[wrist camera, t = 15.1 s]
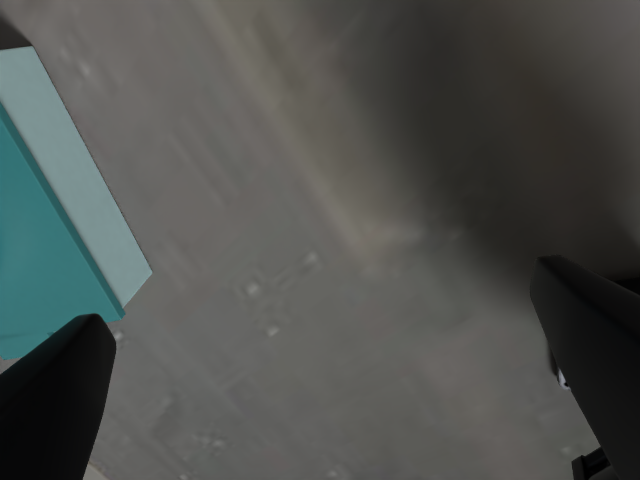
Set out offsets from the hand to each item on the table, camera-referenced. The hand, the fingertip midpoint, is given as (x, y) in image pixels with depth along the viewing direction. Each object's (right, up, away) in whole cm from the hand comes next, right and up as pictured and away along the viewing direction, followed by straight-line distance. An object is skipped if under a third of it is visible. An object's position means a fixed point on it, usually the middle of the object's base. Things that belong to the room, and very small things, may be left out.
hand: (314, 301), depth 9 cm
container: (-17, +3, +14) cm, 22 cm away
